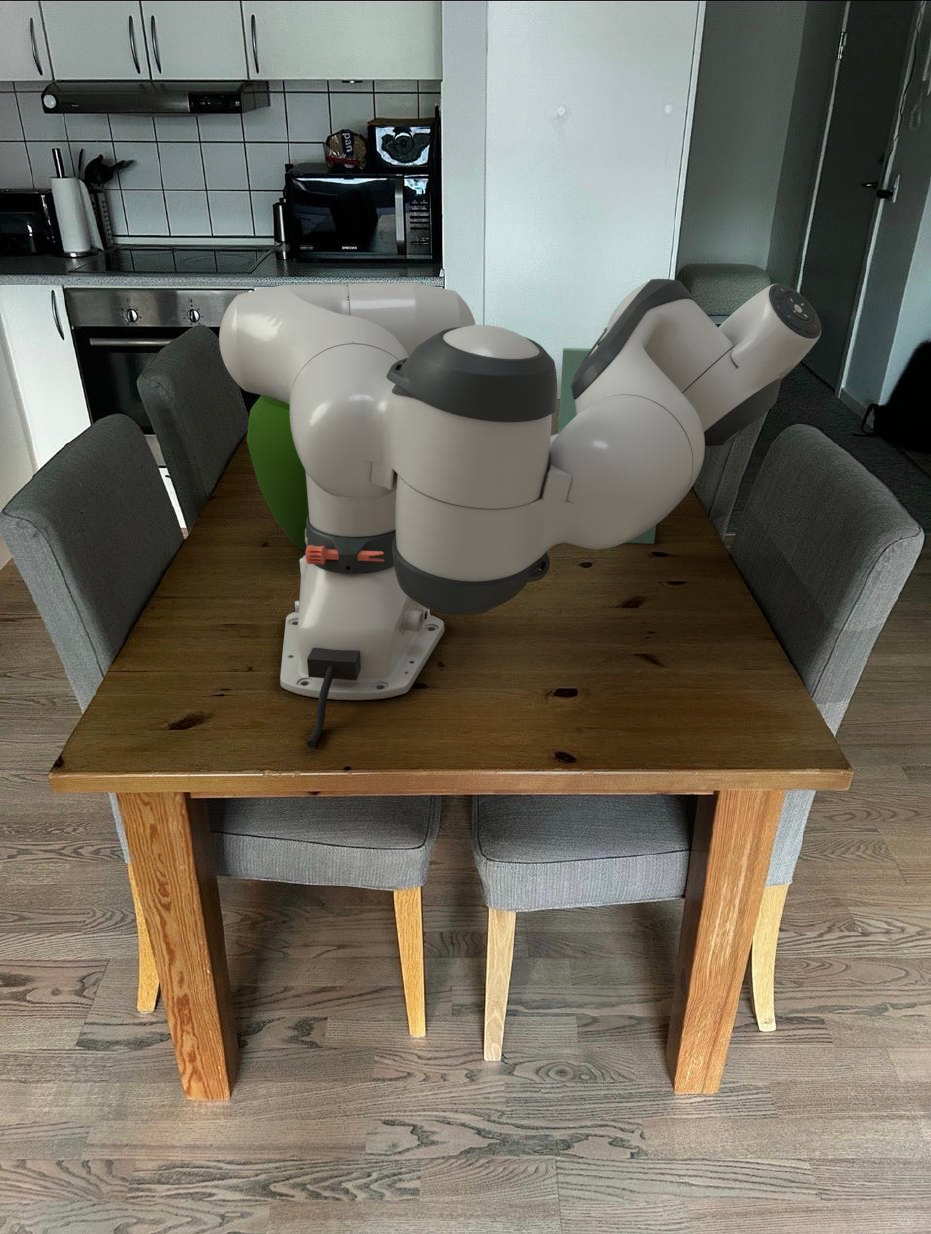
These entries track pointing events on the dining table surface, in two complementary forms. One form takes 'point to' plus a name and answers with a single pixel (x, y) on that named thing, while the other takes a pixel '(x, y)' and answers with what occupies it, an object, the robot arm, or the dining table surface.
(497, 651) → the dining table surface
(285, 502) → the vase
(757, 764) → the dining table surface
